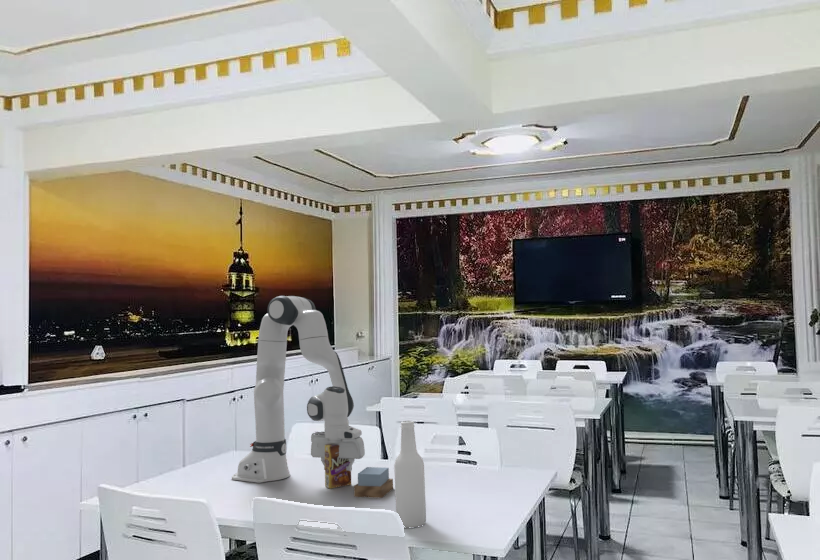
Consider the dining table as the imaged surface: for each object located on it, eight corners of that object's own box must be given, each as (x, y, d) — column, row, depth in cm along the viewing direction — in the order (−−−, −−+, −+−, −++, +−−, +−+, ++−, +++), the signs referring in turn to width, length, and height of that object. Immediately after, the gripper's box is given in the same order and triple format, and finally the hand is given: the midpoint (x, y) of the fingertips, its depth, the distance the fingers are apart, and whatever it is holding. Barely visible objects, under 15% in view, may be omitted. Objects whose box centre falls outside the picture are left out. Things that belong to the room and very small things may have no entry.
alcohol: (391, 527, 201) (388, 423, 202) (402, 518, 209) (399, 418, 210) (420, 530, 198) (416, 424, 199) (430, 520, 206) (426, 419, 207)
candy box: (330, 489, 247) (328, 446, 247) (324, 487, 250) (323, 444, 251) (352, 485, 252) (350, 442, 252) (346, 482, 255) (345, 441, 256)
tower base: (354, 498, 236) (353, 486, 236) (366, 488, 247) (366, 477, 247) (381, 499, 233) (381, 487, 233) (393, 490, 244) (392, 478, 244)
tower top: (358, 485, 236) (357, 473, 236) (367, 478, 246) (367, 467, 246) (380, 486, 234) (380, 474, 234) (388, 479, 244) (388, 467, 244)
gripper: (307, 432, 252) (308, 471, 251) (359, 434, 246) (360, 473, 245) (314, 429, 258) (316, 467, 257) (365, 430, 252) (367, 469, 251)
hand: (338, 470), depth 251 cm, fingers open, 7 cm apart
